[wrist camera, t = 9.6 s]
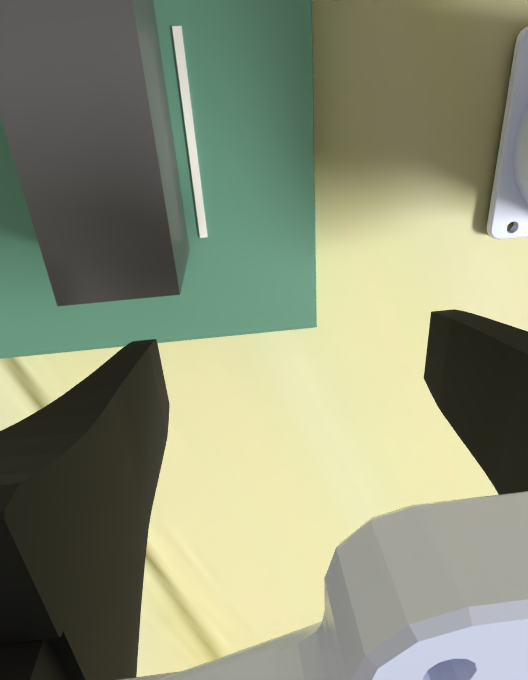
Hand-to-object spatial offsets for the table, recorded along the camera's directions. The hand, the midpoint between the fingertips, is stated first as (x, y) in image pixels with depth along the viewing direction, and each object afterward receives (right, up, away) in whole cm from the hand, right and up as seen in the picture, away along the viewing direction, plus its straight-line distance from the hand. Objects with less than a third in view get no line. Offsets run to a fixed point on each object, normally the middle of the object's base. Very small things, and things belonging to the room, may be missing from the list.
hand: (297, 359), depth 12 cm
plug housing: (-6, +9, +4) cm, 12 cm away
